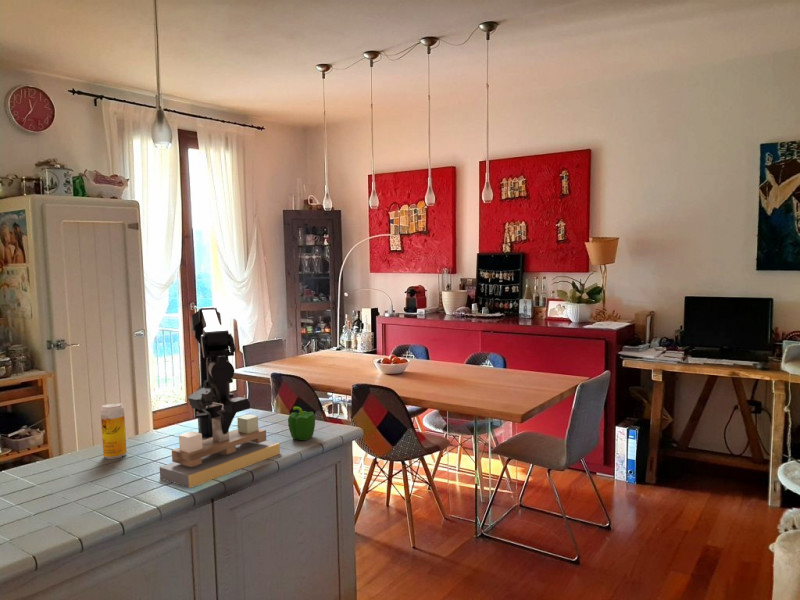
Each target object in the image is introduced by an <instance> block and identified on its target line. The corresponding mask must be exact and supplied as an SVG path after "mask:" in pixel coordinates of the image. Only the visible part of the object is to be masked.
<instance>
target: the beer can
mask: <svg viewBox="0 0 800 600" xmlns="http://www.w3.org/2000/svg"><path fill="white" fill-rule="evenodd" d="M100 423H101V437H102V452H103V456H104V457H105V459H107V460H114V459H119V458H122V456H123V457H125V454H126V453H128V451H127V439H126V438H127V437H126V436H127V434H126V419H125V407H124V405H123V403H121V402H112V403H106V404H103V405H101V409H100Z"/></svg>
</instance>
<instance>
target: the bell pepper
mask: <svg viewBox="0 0 800 600" xmlns="http://www.w3.org/2000/svg"><path fill="white" fill-rule="evenodd" d="M292 409H293V411H295V410H298V411H299V412H291V413H290V414H289V415H288V419H287V423H288V425H287V426H288V431H289V434H290V436H291V438H292V439H293V440H299V441H308V440H311V439H312V437H313V436H314V432H315V428H316V417H315V413H314V411H306V410H303V409H302V408H301V407H300V406H293V407H292Z"/></svg>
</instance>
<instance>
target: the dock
mask: <svg viewBox="0 0 800 600" xmlns="http://www.w3.org/2000/svg"><path fill="white" fill-rule="evenodd" d="M280 454H281V444H280V443H279V442H275V441H271V440H267V439H266V441H264V442H261V443H255V442H251V441H248V442H246V443H243V444H240V445H237V446H236V451H235V452H233V453H230V454H223V453H219V452H217V453H214V454H211V455H208V456H205V457H202V458H201V462H202V464H199V465H196V466H193V467H189V466H186V465H182V464H179V463H176V462H171V463H167V464H165V465H162V466H159V478H160V480H163V479H164V481H167V480H168V481H167V482H170V481H171V483H173V482H175V483H174V484H176V483H178V484H177V485H179V484H181V485H180V486H182V485H184V486H183V487H186V488H189V487H190V488H189V489H192V488H194V486H195V487H197V486H199V484H200V485H202V484H204V483H207V481H208V482H209V481H213V480H214V479H215V480H216V479H217V478H221V477H223V476H225V474H226V475H229V474H230V473H233V471H234V472H236V471H239V470H242V469H243V468H246V466H247V467H249V466H251V465H255V464H256V463H259V462H262V461H264V460H267V459H271V458H272V457H275V456H277V455H280ZM238 469H239V470H238ZM235 470H236V471H235ZM220 476H221V477H220ZM212 479H213V480H212ZM191 487H192V488H191Z"/></svg>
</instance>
